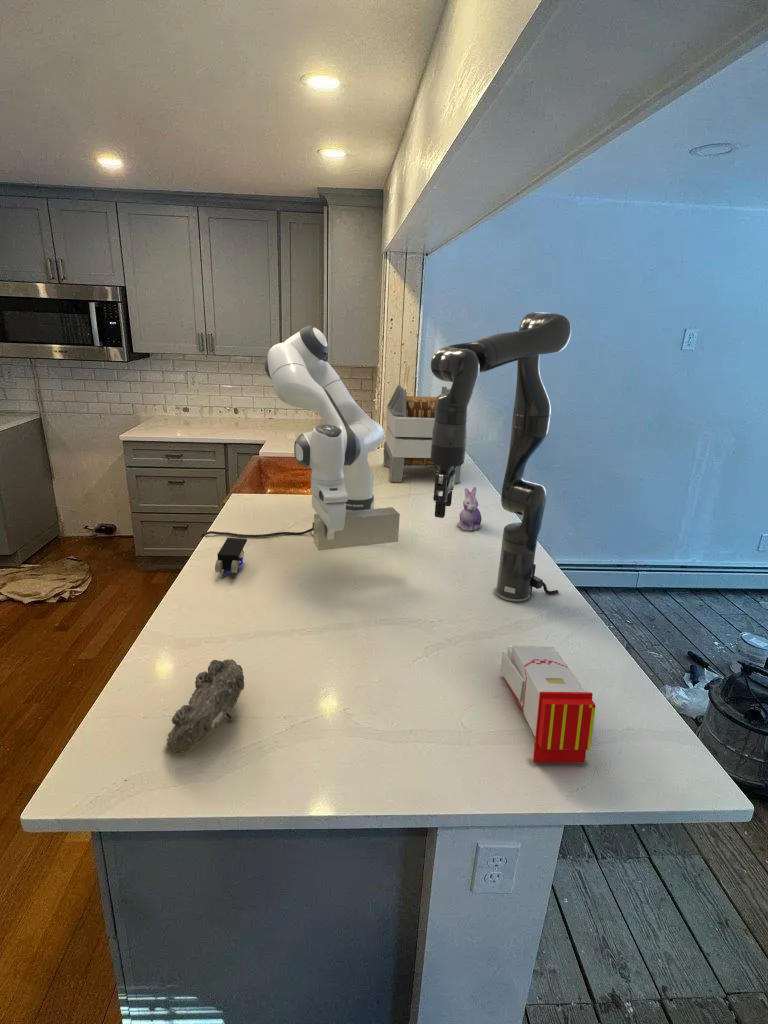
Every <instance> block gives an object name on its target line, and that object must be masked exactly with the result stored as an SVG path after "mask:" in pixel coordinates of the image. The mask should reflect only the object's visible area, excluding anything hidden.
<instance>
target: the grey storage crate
mask: <svg viewBox="0 0 768 1024" xmlns="http://www.w3.org/2000/svg"><path fill="white" fill-rule="evenodd" d="M450 389H451V388H447V386H442V387H441V392H440V394H443V393H449V392H450ZM407 394H408V393H407V390H406V389H404V388H403V387H402V385H399V384H398V385H397V386H396V388H395V390H394V392H393V394H392V395H391V398H390V400H389V402H388V404H387V405H386V413H385V414H386V415H385V423H386V428H385V437H384V441H383V466H384V467H388V468H389V475H388V476H389V477H388V478H389V480H390V482H391V483H402V482H403V475H404V469H405V466H406V467H407V466H411V467H412V466H413V467H415V466H416V467H417V466H418V467H436V468H437V470H439V468H440V466H439V465H437V464H434V463H432V462H431V445H432V432H433V426H434V421H435V407H436V399H437V397H438V396H415V395H414V396H413V395H412V396H411V395H407ZM461 472H462V465H460V466H456V477H455V480H456V481H455V482H456V483H455V484H459V483H461Z"/></svg>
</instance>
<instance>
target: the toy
mask: <svg viewBox="0 0 768 1024" xmlns="http://www.w3.org/2000/svg"><path fill="white" fill-rule="evenodd" d="M506 650H507V651H502V652H501V659H500V666H499V671H500V673H501V675H502V677H503V679H504V681H505V683H506V684H507V687H508V688H509V690H510V692H511V693H512V696H513V697H514V699H515V700H516V703H517V704H518V706H519V708H520V709H521V711H522V712H523V716H524V717H525V719H526V722H527V723H528V726H529V728H530V730H531V731H532V734H533V736H534V744H533V745H534V746H533V757H532V762H533V763H568V764H569V763H575V764H576V763H577V764H578V763H579V764H582V763H583V764H585V762H586V754H587V751H591V747H592V746H591V745H592V738H593V729H594V722H595V713H596V707H597V706H596V703H595V702H594V700H593V696H594V695H593V692H590V691H589V692H587V691H586V690H585V688H584V687H583V686H582V684H581V683H580V681H579V680H578V679H577V677H576V676H575V675H574V673H573V672H572V671H571V669H570V668H569V667H568V665H567V664H566V662H565V661H564V659H563V658H562V656H561V655H560V653H559V651H557V649H556V648H555V647H554V646H545V645H544V646H543V645H542V646H540V645H535V646H534V645H512V646H507V649H506Z"/></svg>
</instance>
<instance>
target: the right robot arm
mask: <svg viewBox="0 0 768 1024" xmlns="http://www.w3.org/2000/svg"><path fill="white" fill-rule="evenodd" d="M571 335H572V326H571V322H570V319H569V318H567V316H565V315H563V314H561V313H556V312H538V311H537V312H535V311H534V312H529V313H527V314H525V315H524V317H523V318H522V320H521V322H520V325H519V328H518V330H516V331H510V332H500V333H496V334H492V335H490V336H485V337H482V338H480V339H477V340H475V341H471V342H461V343H455V344H450V345H446V346H443V347H441V348H439V349H438V350H437V351H436V352H435V353H434V354H433V356H432V358H431V360H430V370H431V373H432V375H433V376H434V377H435V378H436V379H437V380H440V381H442V382H449V383H452V384H451V387H450V388H449V389H450V392H449V393H443V394H441V393H440V394H438V396H436V397H437V399H436V407H435V421H434V426H433V432H432V445H431V462H432V463H434V464H437V465H439V466H440V468H439V469H437V471H436V472H435V475H434V486H433V487H434V489H433V497H432V499H433V501H435V505H434V517H435V518H440V519H444V518H445V517H446V507H451V505H452V500H453V491H454V489H455V485H456V484H457V483H456V482H455V481H456V480H455V477H456V466H460V465H461V466H463V465H464V463H465V460H466V459H465V457H466V447H467V436H468V429H467V426H468V425H467V423H468V414H469V413H468V412H469V403H470V401H471V398H472V396H473V394H474V390H475V387H476V384H477V382H478V378H479V376H480V373H486V372H489V371H492V370H494V369H497V368H499V367H502V366H505V365H508V364H510V363H513V362H516V361H517V368H516V369H517V370H516V371H517V372H516V383H515V385H516V386H515V396H514V404H513V411H512V419H511V429H510V430H511V431H510V442H509V448H508V449H509V450H508V457H507V462H506V468H505V473H504V478H503V481H502V487H501V493H500V505H501V506H502V509H503V510H505V511H507V512H509V513H513V514H516V515H518V516H522V519H521V522H512V523H508V524H506V525H505V526H504V528H503V531H502V539H501V547H500V555H499V556H500V557H499V565H498V572H497V578H496V579H497V580H496V587H495V594H496V596H498V597H499V598H500V599H502V600H505V601H509V602H513V603H521V602H526V601H527V600H529V599H530V596H532V594H533V588H534V589H535V590H538V589H542V588H543V591H544V593H545V594H547V595H555V594H559V590H558V589H553V590H548V587H547V584H546V583H545V582H544V581H543V579H541V578H540V577H538V576H536V575H535V574H536V567H537V565H536V564H535V559H536V550H537V544H538V538H539V535H540V531H541V529H542V522H543V517H544V513H545V508H546V503H547V490H546V488H545V486H543V485H542V484H539V483H537V482H533V481H532V482H531V481H528V480H524V476H525V475H524V473H525V469H526V466H527V463H528V461H529V459H530V458H531V457H532V455H533V454H535V452H536V451H537V450H538V448H540V446H541V445H542V443H543V442H544V441H545V439H546V438H547V435H548V433H549V428H550V421H551V413H552V407H551V402H550V398H549V396H548V393H547V390H546V388H545V386H544V383H543V381H542V378H541V373H540V372H541V371H540V356H541V355H547V354H557V353H560V352H562V351H563V350H564V349H565V348H566V347H567V345H568V344H569V342H570V339H571ZM440 493H441V494H442V495H440Z"/></svg>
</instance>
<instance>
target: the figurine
mask: <svg viewBox="0 0 768 1024" xmlns="http://www.w3.org/2000/svg"><path fill="white" fill-rule="evenodd" d="M476 494H477V487H476V486H474V487H473V488H472V489H471V491H470V490H469V488H467V487H464V499H463V501H462V506H463V509H462V510H461V511H460V513H459V521H458V527H459V528H460V529H461V530H463V531H469V532H472V531H476V530H478V529H479V528H481V523H482V514H481V512H480V510H479V508H478V507H479V501H478V498H477V497H476Z"/></svg>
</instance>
